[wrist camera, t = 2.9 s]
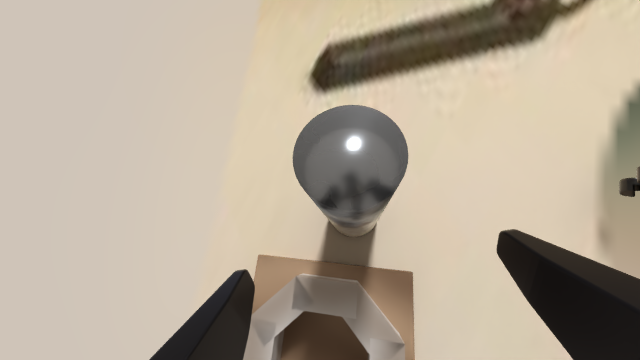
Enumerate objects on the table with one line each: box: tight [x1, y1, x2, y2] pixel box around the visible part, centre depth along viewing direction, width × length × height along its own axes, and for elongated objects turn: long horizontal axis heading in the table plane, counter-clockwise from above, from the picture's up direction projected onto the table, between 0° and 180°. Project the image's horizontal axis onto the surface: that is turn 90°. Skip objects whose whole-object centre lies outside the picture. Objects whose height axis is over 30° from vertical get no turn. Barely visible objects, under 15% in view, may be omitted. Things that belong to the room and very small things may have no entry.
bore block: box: [243, 255, 415, 360], centre depth 15 cm, size 12×12×3 cm
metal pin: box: [293, 105, 408, 237], centre depth 14 cm, size 4×4×12 cm
